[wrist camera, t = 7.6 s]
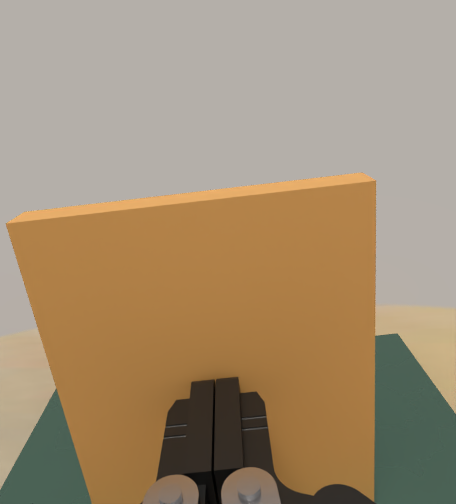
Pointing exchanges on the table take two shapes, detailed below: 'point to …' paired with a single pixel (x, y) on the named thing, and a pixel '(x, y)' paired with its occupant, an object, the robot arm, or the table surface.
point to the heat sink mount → (385, 450)
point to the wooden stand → (211, 322)
